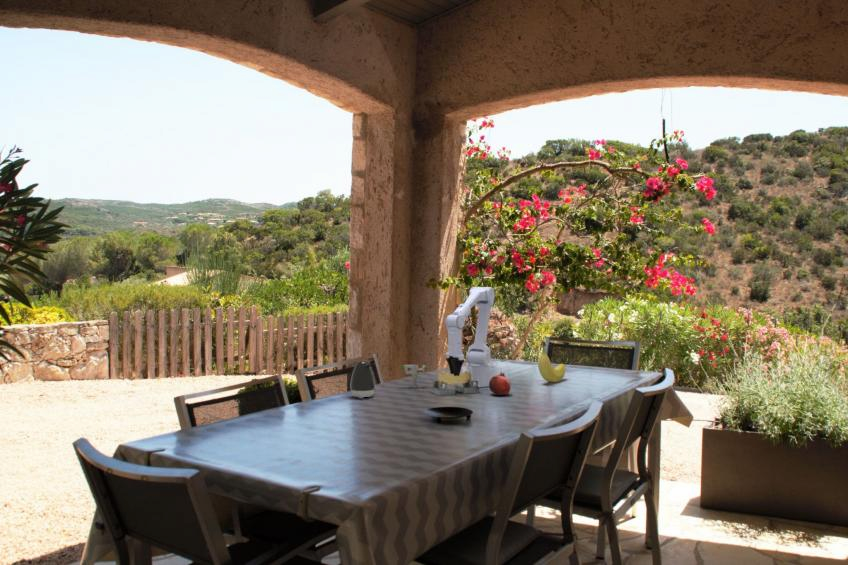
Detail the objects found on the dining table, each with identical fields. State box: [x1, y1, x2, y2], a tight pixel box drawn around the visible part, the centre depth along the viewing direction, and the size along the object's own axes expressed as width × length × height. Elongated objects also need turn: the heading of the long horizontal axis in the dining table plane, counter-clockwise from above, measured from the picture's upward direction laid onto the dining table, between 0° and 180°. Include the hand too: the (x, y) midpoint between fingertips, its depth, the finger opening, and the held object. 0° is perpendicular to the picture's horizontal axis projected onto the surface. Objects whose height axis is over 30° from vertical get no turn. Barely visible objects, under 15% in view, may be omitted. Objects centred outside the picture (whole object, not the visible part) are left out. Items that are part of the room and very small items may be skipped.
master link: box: [437, 370, 471, 385], centre depth 301 cm, size 14×3×4 cm, turn 111°
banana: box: [537, 340, 567, 383], centre depth 325 cm, size 23×6×20 cm, turn 143°
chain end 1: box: [431, 379, 456, 397], centre depth 300 cm, size 7×10×5 cm
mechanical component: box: [402, 364, 427, 389], centre depth 313 cm, size 3×10×10 cm, turn 89°
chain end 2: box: [454, 380, 480, 395], centre depth 303 cm, size 7×10×5 cm
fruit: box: [488, 371, 511, 396], centre depth 296 cm, size 9×10×10 cm
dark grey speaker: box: [349, 359, 376, 399], centre depth 292 cm, size 10×10×15 cm
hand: (455, 375), depth 301 cm, fingers closed on master link, 3 cm apart
